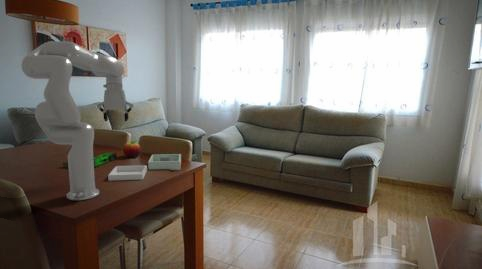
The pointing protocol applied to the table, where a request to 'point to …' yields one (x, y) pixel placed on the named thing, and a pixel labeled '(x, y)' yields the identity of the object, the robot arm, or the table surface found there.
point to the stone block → (165, 158)
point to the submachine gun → (99, 159)
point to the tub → (128, 173)
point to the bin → (165, 162)
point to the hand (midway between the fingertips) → (116, 120)
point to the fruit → (132, 149)
